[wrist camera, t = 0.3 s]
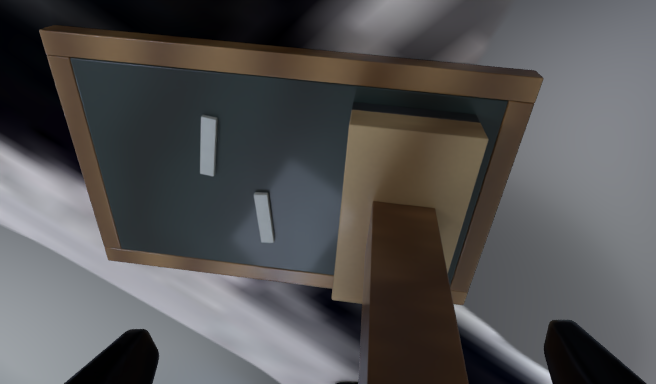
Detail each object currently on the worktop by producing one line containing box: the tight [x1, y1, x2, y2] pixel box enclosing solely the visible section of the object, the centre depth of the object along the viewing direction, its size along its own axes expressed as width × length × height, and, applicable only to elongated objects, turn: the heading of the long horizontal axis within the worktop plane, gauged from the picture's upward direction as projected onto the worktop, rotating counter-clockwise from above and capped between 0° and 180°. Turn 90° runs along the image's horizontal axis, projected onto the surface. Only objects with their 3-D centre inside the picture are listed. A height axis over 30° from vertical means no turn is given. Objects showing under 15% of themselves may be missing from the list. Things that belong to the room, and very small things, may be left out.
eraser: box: [332, 102, 488, 384], centre depth 18 cm, size 6×11×13 cm, turn 176°
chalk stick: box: [254, 192, 275, 243], centre depth 25 cm, size 1×4×1 cm, turn 2°
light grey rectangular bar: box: [200, 115, 218, 176], centre depth 22 cm, size 1×4×1 cm, turn 169°
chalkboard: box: [39, 25, 543, 305], centre depth 24 cm, size 24×15×1 cm, turn 86°
